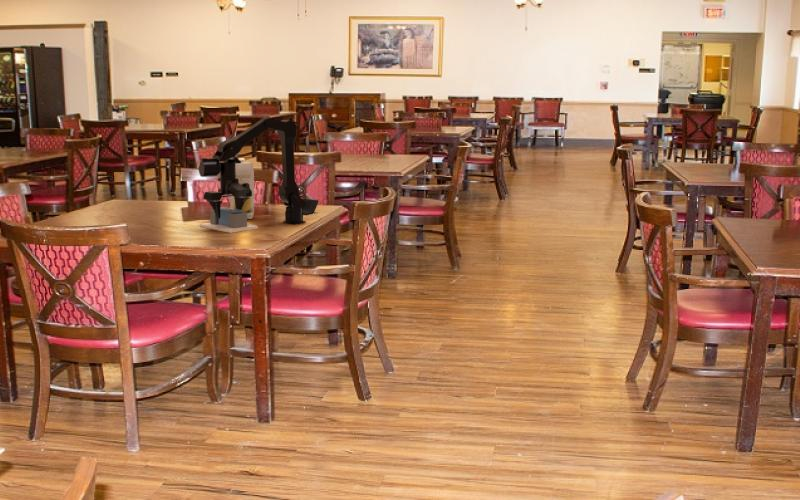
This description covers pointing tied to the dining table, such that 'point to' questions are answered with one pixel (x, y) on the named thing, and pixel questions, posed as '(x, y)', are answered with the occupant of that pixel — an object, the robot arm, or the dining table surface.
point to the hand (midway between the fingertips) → (228, 217)
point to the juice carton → (244, 176)
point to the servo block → (226, 215)
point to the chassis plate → (227, 229)
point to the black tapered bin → (309, 206)
